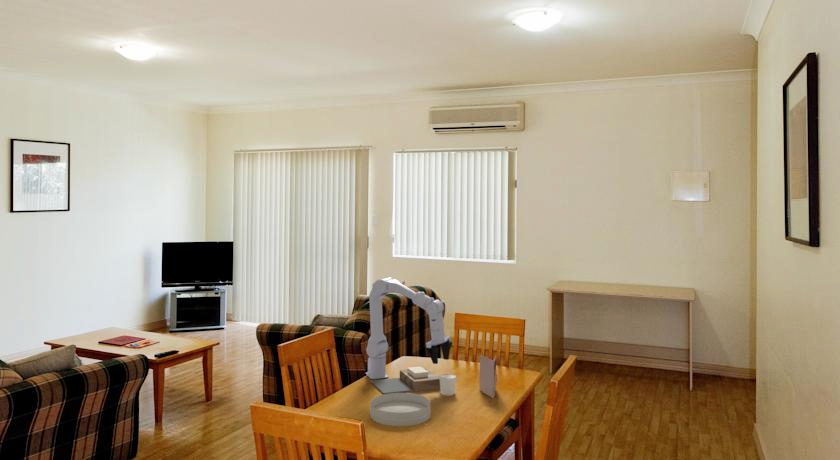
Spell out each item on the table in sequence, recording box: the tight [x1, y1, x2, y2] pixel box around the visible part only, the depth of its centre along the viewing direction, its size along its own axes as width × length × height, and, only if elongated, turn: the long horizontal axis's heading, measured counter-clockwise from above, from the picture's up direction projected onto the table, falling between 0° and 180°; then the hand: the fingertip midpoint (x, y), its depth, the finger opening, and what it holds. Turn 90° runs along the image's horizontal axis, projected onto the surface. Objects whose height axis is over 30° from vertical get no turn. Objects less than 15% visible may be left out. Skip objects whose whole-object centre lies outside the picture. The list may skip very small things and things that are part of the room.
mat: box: [370, 377, 414, 395], centre depth 255 cm, size 18×12×1 cm
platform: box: [399, 367, 440, 392], centre depth 259 cm, size 18×12×4 cm, turn 21°
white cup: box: [438, 373, 457, 396], centre depth 247 cm, size 7×7×7 cm
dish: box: [369, 392, 432, 427], centre depth 222 cm, size 22×22×5 cm
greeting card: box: [478, 354, 498, 399], centre depth 246 cm, size 11×7×15 cm, turn 168°
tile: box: [407, 365, 428, 378], centre depth 259 cm, size 9×6×2 cm, turn 21°
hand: (440, 361), depth 256 cm, fingers open, 7 cm apart
